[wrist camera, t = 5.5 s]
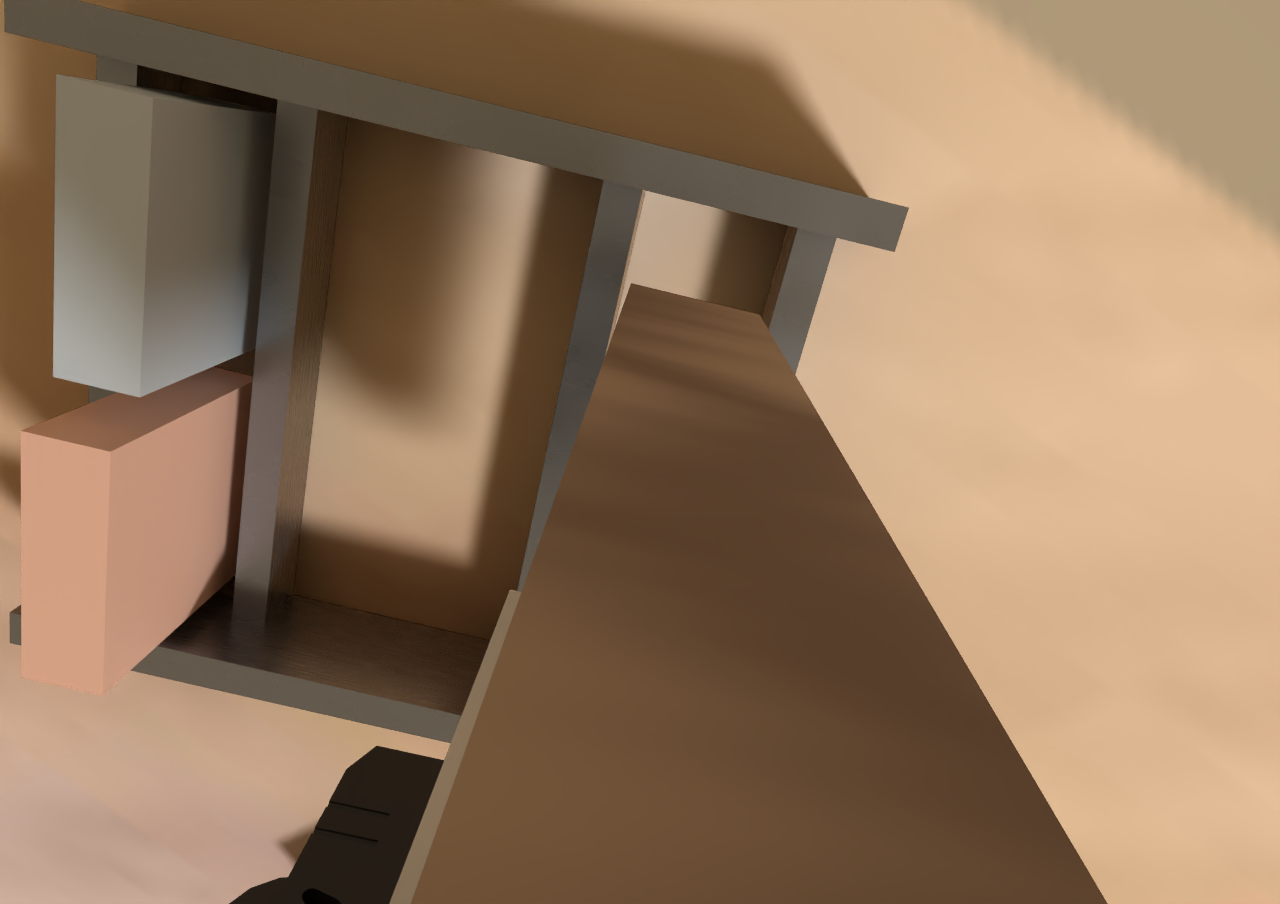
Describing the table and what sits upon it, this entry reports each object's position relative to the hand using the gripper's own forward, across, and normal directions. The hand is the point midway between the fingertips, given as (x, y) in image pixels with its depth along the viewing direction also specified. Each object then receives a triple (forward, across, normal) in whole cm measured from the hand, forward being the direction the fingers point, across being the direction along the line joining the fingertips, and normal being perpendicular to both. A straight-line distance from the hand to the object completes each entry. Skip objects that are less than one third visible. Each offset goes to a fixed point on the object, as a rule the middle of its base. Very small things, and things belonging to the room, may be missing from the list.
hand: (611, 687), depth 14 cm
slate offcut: (+12, -13, +4) cm, 18 cm away
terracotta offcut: (+12, -12, -4) cm, 18 cm away
